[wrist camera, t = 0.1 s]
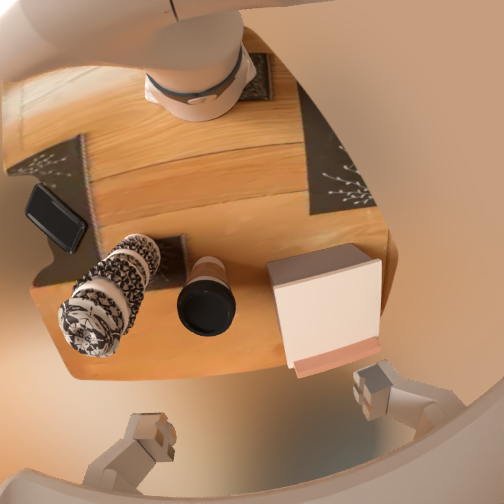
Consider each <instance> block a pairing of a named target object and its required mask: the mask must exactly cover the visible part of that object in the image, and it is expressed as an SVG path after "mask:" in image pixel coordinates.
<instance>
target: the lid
mask: <svg viewBox="0 0 504 504" xmlns="http://www.w3.org/2000/svg"><path fill="white" fill-rule="evenodd" d="M381 284H382V261H381V260H380V259H375V260H372V261H368V262H365V263H361V264H357V265H354V266H350V267H346V268H343V269H339V270H335V271H332V272H328V273H324V274H320V275H316V276H313V277H309V278H305V279H301V280H297V281H293V282H289V283H285V284H281V285H277V286H273V289H274V294H275V299H276V305H277V310H278V315H279V321H280V326H281V331H282V337H283V342H284V348H285V353H286V359H287V364H288V367H289V368H293V367H294V368H295V371H296V374H297V377H298V378H302V377H306V376H309V375H313V374H316V373H320V372H323V371H326V370H329V369H332V368H335V367H339V366H341V365H344V364H348V363H350V362H353V361H356V360H359V359H362V358H364V357H367V356H370V355H372V354H375V353H377V352H380V351H381V345H380V343H379V342H378V335H379V323H380V308H381Z"/></svg>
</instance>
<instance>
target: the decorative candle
mask: <svg viewBox="0 0 504 504" xmlns="http://www.w3.org/2000/svg"><path fill="white" fill-rule="evenodd" d="M160 258H161V256H160V252H159V248H158V246H157V245H156V243H155V242H154V241H153V240H152V239H151V238H149V237H148V236H146V235H143V234H139V233H138V234H131V235H129V236H127V237H126V238H124V239H123V240H122V241H121V242H119V244H118V245H117V246H116V247H115V248H113V249H112V251H111V253H109V254H108V256H107V258H106V259H104V260H103V261H101V262H100V263H98V264H96V265H95V266H94V268H92V269H90V270H89V272H88V273H89V274H85V275H83V277H82V279H83V280H82V279H79V280H77V282H76V285H74V286H73V288H72V291H73V294H72V298H70V299H68V300H66V301H65V302H64V303H62V304H61V306H60V309H59V312H58V320H59V325H60V328H61V330H62V332H63V334H64V336H65V338H66V340H67V342H68V343H69V344H70V345H71V346H72V347H73V348H74V349H75V350H77V351H78V352H80V353H82V354H84V355H87V356H93V357H107V356H110V355H112V354H114V353H115V352H116V350H117V349H118V347H119V346H120V338H121V336H122V335H125V334H127V333H128V328H131V327H132V326H133V325H134V321H135V319H136V314H137V313H138V311H139V307H140V305H141V301H142V300H143V298H144V290H145V288H146V287H148V286H149V283H150V282H151V280H152V278H153V277H154V274H155V273H156V271H157V269H158V266H159V263H160ZM79 286H80V287H79ZM129 319H130V320H129ZM128 320H129V321H128Z"/></svg>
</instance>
